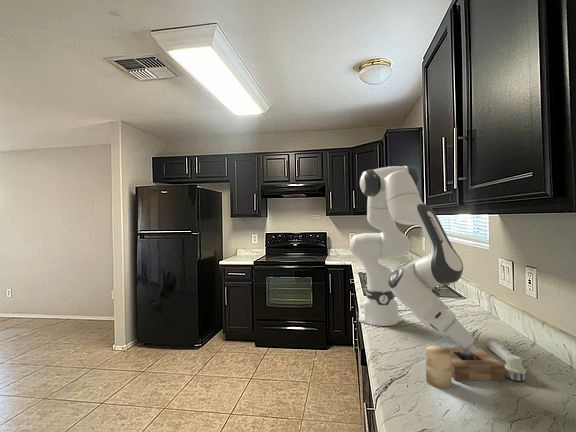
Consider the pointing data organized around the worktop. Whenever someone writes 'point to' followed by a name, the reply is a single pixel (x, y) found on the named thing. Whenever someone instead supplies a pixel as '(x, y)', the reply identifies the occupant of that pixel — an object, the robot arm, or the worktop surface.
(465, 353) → the cylinder
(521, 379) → the toothbrush head
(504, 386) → the worktop surface
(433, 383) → the fat post
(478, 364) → the socket block
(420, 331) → the worktop surface
